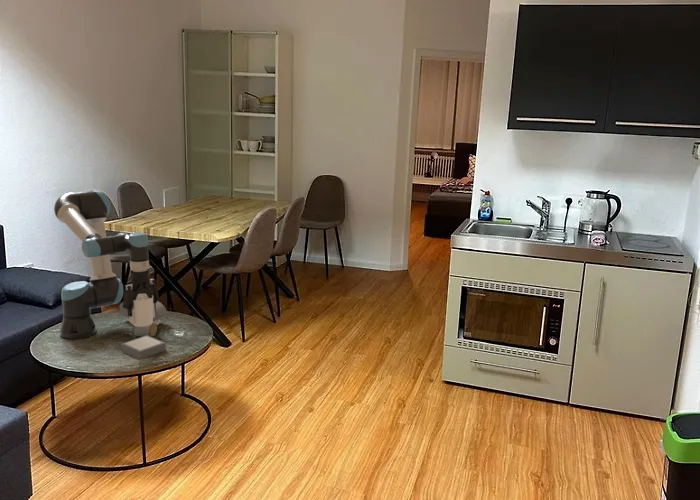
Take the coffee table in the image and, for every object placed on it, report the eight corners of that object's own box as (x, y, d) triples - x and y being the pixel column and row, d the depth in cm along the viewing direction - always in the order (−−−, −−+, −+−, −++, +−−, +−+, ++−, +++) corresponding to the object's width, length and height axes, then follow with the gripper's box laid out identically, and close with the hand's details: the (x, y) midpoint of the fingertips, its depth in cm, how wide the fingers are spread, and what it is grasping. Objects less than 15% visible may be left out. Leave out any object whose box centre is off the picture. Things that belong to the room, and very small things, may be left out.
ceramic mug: (150, 340, 281) (150, 324, 279) (133, 338, 282) (133, 322, 280) (161, 331, 291) (160, 316, 289) (144, 330, 292) (144, 314, 290)
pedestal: (121, 351, 268) (121, 343, 267) (147, 342, 278) (146, 335, 277) (140, 359, 260) (139, 351, 260) (165, 350, 271) (165, 342, 270)
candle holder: (136, 318, 271) (135, 292, 268) (158, 320, 270) (157, 294, 267) (126, 326, 262) (125, 299, 259) (148, 328, 261) (147, 301, 258)
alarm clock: (167, 323, 301) (166, 298, 298) (159, 327, 295) (158, 302, 292) (128, 316, 309) (127, 291, 306) (120, 320, 303) (118, 295, 300)
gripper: (122, 276, 249) (125, 329, 255) (167, 266, 267) (168, 315, 272) (111, 273, 254) (114, 324, 259) (156, 262, 271) (158, 311, 276)
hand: (142, 319), depth 266 cm, fingers closed on candle holder, 9 cm apart
